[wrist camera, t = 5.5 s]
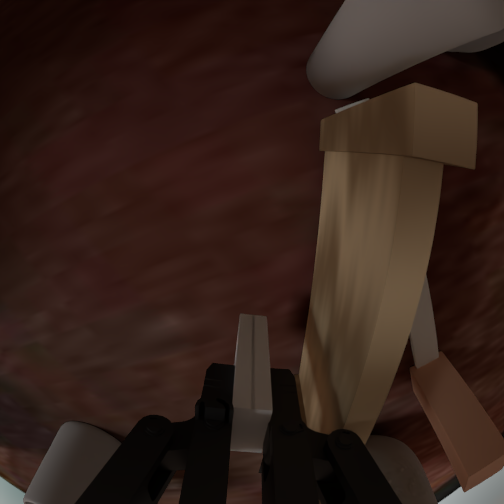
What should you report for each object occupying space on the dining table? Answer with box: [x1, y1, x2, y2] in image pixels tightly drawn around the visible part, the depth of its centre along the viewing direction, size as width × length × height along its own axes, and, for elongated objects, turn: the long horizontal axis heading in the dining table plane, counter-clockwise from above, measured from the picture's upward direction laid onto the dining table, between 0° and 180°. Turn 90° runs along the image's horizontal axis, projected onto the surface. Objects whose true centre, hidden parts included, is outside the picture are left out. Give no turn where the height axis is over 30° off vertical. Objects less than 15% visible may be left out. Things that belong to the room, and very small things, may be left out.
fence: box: [306, 0, 504, 492], centre depth 12 cm, size 26×3×12 cm, turn 25°
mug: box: [23, 421, 121, 504], centre depth 20 cm, size 12×8×11 cm
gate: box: [294, 83, 478, 504], centre depth 13 cm, size 18×2×10 cm, turn 178°
